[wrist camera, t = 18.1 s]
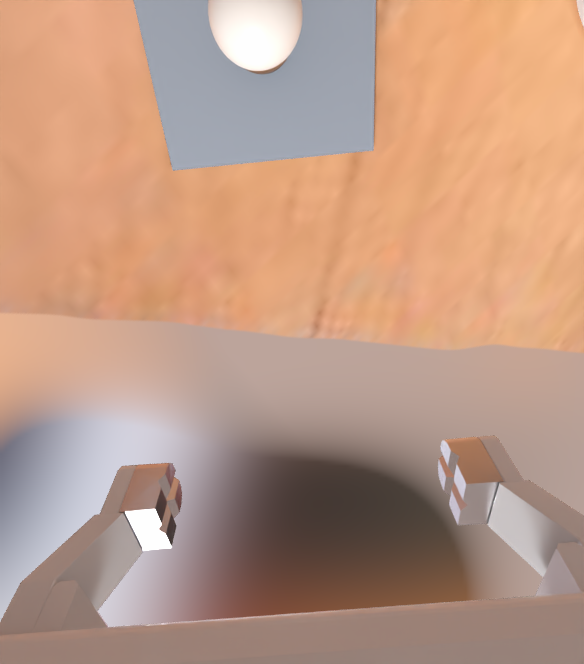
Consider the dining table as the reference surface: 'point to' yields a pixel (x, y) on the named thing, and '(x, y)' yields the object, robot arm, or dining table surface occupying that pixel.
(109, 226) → the dining table surface
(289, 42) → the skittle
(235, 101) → the mat
